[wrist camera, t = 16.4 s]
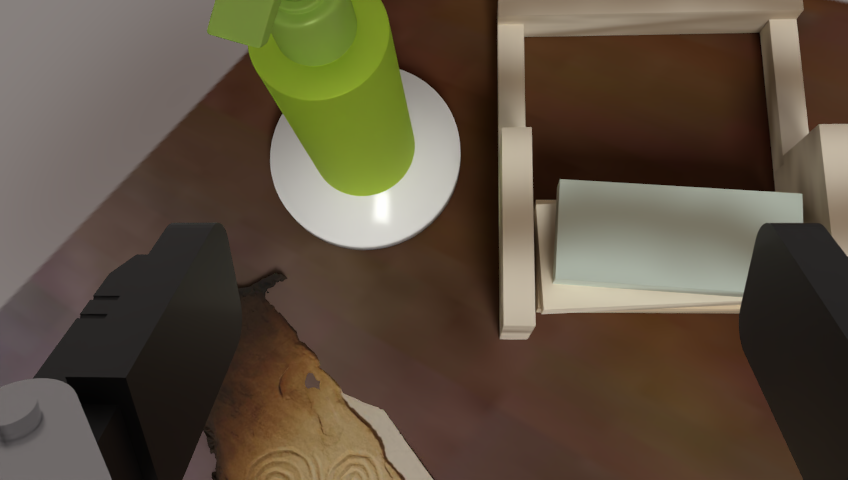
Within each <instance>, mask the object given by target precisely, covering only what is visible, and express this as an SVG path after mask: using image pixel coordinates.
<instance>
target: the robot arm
mask: <svg viewBox="0 0 848 480" xmlns="http://www.w3.org/2000/svg"><path fill="white" fill-rule="evenodd" d="M241 328H242V309H241V302H240V297H239V292H238V287H237V282H236V277H235V272H234V267H233V262H232V257H231V252H230V247H229V242H228V237H227V233H226V230H225V228H224V227H223V225H222V224H220V223H171V224H169V225H168V226H167V228H166V229H165V231H164V232H163V233H162V235H161V236H160V238H159V239H158V241H157V242H156V244H155V245H154V247H153V248H152V250H151V251H150V253H149V254H148V255H135V256H134V257H133V258H131V259H130V260H128V261H127V262H125V263H124V264H123V265H121V266H120V267H118V268H117V269H115V270H114V271H113V272H111V273H110V274H109V275H108V276H107V278H106V279H105V280H104V282H103V283H102V285H101V286H100V287H99V289H98V290H97V291H96V293H95V294H94V299H93V300H90V301H89V302H88V304H87V305H86V306H85V308H84V309H83V311H82V312H81V313H80V318H77V319H76V320H75V322H74V323H73V324H72V326H71V327H70V328H69V330H68V331H67V332H66V334H65V335H64V337H63V338H62V339H61V341H60V342H59V343H58V345H57V346H56V348H55V349H54V350H53V352H52V353H51V354H50V356H49V357H48V358H47V360H46V361H45V363H44V364H43V365H42V367H41V368H40V369H39V371H38V372H37V374H36V375H35V376H34V378H33V379H27V380H22V381H18V382H14V383H11V384H8V385H5V386H2V387H0V480H182V479H183V477H184V474H185V472H186V470H187V467H188V465H189V462H190V460H191V458H192V455H193V453H194V450H195V448H196V445H197V443H198V441H199V438H200V436H201V433H202V431H203V429H204V426H205V424H206V421H207V419H208V417H209V414H210V412H211V409H212V407H213V404H214V402H215V400H216V397H217V395H218V392H219V390H220V388H221V385H222V383H223V380H224V378H225V376H226V373H227V371H228V368H229V366H230V363H231V361H232V359H233V356H234V354H235V351H236V349H237V347H238V344H239V340H240V335H241ZM739 333H740V340H741V344H742V348H743V351H744V353H745V355H746V357H747V359H748V362H749V364H750V366H751V368H752V370H753V372H754V375H755V377H756V379H757V381H758V383H759V385H760V387H761V390H762V392H763V394H764V396H765V398H766V400H767V402H768V405H769V407H770V409H771V411H772V413H773V415H774V417H775V420H776V422H777V424H778V426H779V428H780V430H781V432H782V435H783V437H784V439H785V441H786V443H787V445H788V447H789V450H790V452H791V454H792V456H793V458H794V460H795V462H796V465H797V467H798V469H799V471H800V473H801V475H802V477H803V480H848V257H847V255H846V254H845V253H844V251H843V250H842V249H841V247H840V246H839V245H838V244H837V242H836V241H835V240H834V238H833V237H832V236H831V235H830V233H829V232H828V231H827V229H826V228H825V227H824V226H823V225H822V224H820V223H765V224H763V225H762V226H761V227H760V229H759V231H758V233H757V236H756V240H755V244H754V249H753V253H752V258H751V262H750V267H749V271H748V276H747V280H746V285H745V289H744V293H743V298H742V302H741V307H740V313H739Z"/></svg>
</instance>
